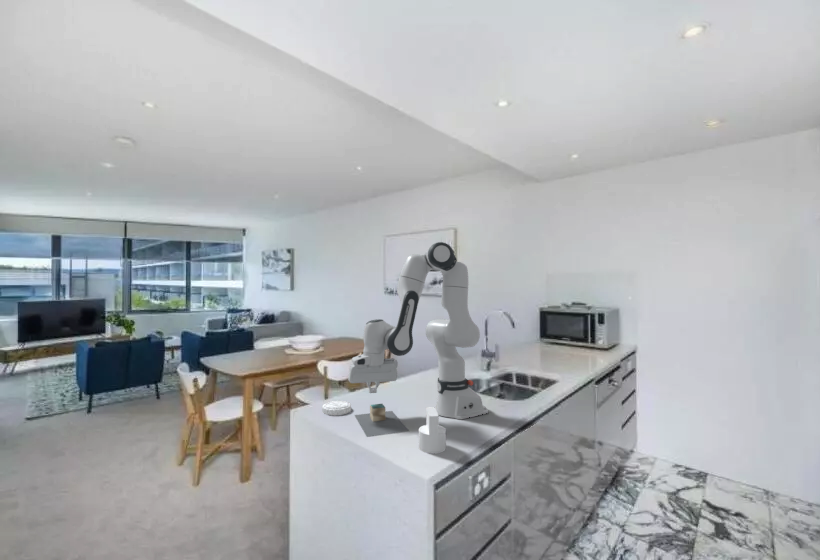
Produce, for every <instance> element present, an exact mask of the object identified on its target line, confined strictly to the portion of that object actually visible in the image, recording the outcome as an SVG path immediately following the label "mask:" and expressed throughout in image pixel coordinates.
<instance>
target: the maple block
mask: <svg viewBox="0 0 820 560" xmlns="http://www.w3.org/2000/svg"><path fill="white" fill-rule="evenodd" d="M385 412H386V406H385V404H383V403H375V404H369V413H370V418H371V419H372V421H373V422H374V421H382V420H385Z"/></svg>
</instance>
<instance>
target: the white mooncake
mask: <svg viewBox="0 0 820 560" xmlns="http://www.w3.org/2000/svg"><path fill="white" fill-rule="evenodd" d="M321 408H322V409H321V413H323V415H326V416H342V415H345V414H348V413H350V412H351V411H352V404H351V403H350V402H348V401H347V400H346V401H345V400H340V399H339V400H333V401H328V402H326V403H324V404H322V407H321Z"/></svg>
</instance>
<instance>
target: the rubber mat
mask: <svg viewBox="0 0 820 560" xmlns="http://www.w3.org/2000/svg"><path fill="white" fill-rule="evenodd" d="M354 417H355V419H356V420H357V422H358V424H359V426H360V427H361V429H362V430H363V433H364V435H365V437H367V438H368V437H369V438H370V437H377V436H383V435H391V434H399V433H406V432H410V429H408V427H407V426H406V425H405V424H404V423H403V422H402V421H401V419H400V418H399V417H398V416H397V414H395V412H393V410H387V411H386V410H385V420H382V421H374V422H373V421H372V419H371V418H370V412H369V413H362V414H354Z"/></svg>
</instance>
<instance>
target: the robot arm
mask: <svg viewBox="0 0 820 560" xmlns="http://www.w3.org/2000/svg"><path fill="white" fill-rule="evenodd" d="M429 272H430V273H431V272H436V273H437V272H440V273H441V274H442V285H441V286H442V288H441V300H440V302H441V303H440V304H441V307H442V308H443V309H445V310H446V312H447V313H448V317H449V318H448V319H446V318H437V319H432V320H430V321H428V323H427V324H426V328H425V336H426V338H427V339H428V341H429V342H430V343H431V344H432V346H433V348H434V350H435V353H436V356H437V363H438V366H437V367H438V378H437V398H436V399H437V400H436V404H435V405H436V406H435V408H436V411H437V413H438V416H441V417H445V418H450V419H451V418H452V419H456V420H466V419H469V417H470V418H473V417H478V415H479V416H482V414H483V415H487V414H488V413H489V410H488V407H486V406H484V404H483V401H482V397H481V395H480V394H478V393H477V392H476V391H475V390H473V389H472V388H471V387H469V386H473V385H474V381H473V380H472V379H468V378H466V363H465V362H466V361H465V359H464V357H463V356H462V355H460V354H459V352H458V350H457V348H465V349H466V348H473V347H475V346H477V345H478V343H479V341H480V338H481V332H480V329H479V326H478V324H475V323H476V322H474V321H473V320H472V317H471V314H470V312H469V307H468V304H469V303H468V300H469V299H468V298H469V297H468V296H469V271H468V267H467V265H466V264H465V263H463V262H461V261H458V259H457V257H456V255H455V253H454V250H453V249H452V247H451V246H450V245H449V244H448V243H446V242H442V241H439V242H435V243H433V244H432V245H431V246H430V247H429V248H428V249H427V250H426V252H425V253H424V254H422V255H421V254H415V253H414V254H410V255H408V256H407V258H406V260H405V261H404V263H403V266H402V268H401V271H400V274H399V278H398V280H397V287H396V288H397V290H396V292H397V295H398V297H399V299H400V311H399V315H398V319H397V323H396V326H394V325H391V324H390V323H388V322H386V321H385V320H384V319H379V318H378V319H371V320H369V321H368V322H366V323H365V326H364V330H363V331H364V332H363V344H364V345H363V346H364V347H363V350H362V352H363V353H362V354H359V355H356V356H353V357H352V358H351V364H350V366H349V368H348V369H349V370H348V375H347V376H348V378H347V379H348V382H349V383H350V384H362V383H366V386H367V387H368V393H369V394H376V393H378V391H377V390H378V388H379V386H380V382H381V383H383V382H385V383H386V382H396V381H397V380H398V370H397V369H398V367H399V366H398V365H399V362H398V360H397V359H395V358H385V352H386V350H389V352H390V353H391V354H393V355H395V356H398V357H401V356H405V355H407V354H409V353H410V351H411V350H412V348H413V346H414V345H413V344H414V339H413V327H414V324H415V319H416V315H417V310H418V306H419V302H420V298H421V295H422V292H423V289H424V286H425V282H426V278H427V275H428V273H429ZM372 383H374V384H375V385H374V387H371V384H372ZM486 413H487V414H486Z"/></svg>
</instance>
